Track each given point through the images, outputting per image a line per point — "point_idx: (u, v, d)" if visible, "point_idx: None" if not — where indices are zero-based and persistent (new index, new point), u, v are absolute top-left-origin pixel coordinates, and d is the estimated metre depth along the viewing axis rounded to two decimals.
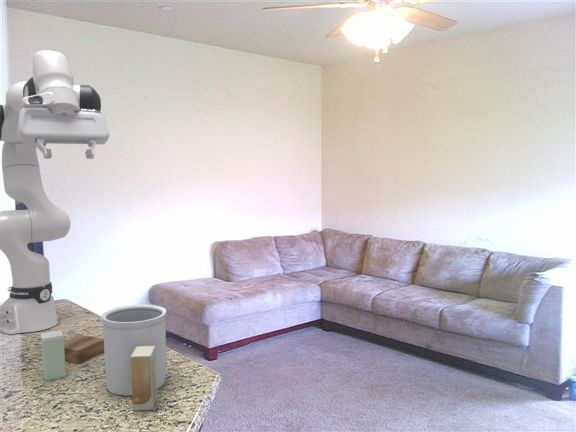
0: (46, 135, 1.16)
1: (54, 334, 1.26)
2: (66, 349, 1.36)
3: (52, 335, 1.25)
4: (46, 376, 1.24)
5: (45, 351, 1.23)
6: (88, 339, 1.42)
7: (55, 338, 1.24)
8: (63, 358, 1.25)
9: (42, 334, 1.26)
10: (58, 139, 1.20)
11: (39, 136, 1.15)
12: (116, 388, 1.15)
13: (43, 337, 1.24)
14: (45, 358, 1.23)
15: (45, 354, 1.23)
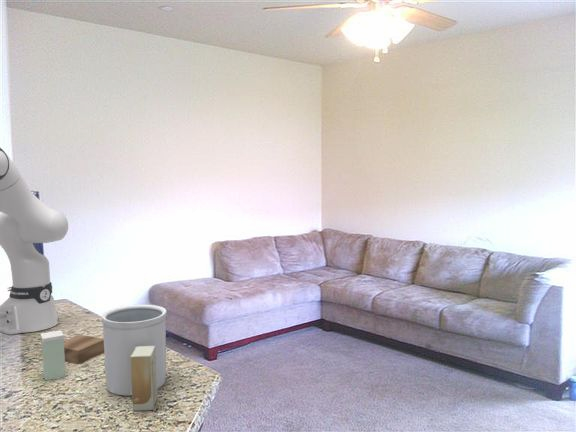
0: None
1: (54, 334, 1.26)
2: (66, 349, 1.36)
3: (52, 335, 1.25)
4: (46, 376, 1.24)
5: (45, 351, 1.23)
6: (88, 339, 1.42)
7: (55, 338, 1.24)
8: (63, 358, 1.25)
9: (42, 334, 1.26)
10: None
11: None
12: (116, 388, 1.15)
13: (43, 337, 1.24)
14: (45, 358, 1.23)
15: (45, 354, 1.23)
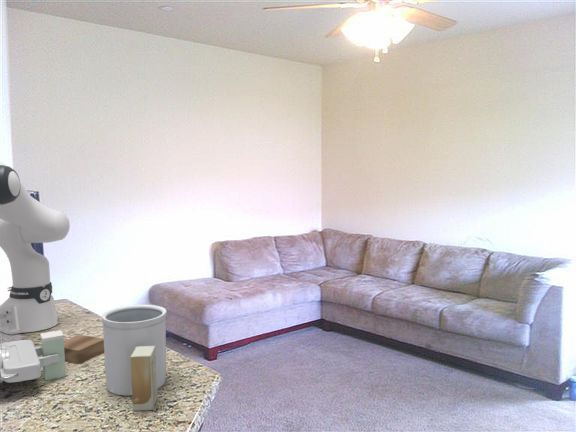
0: None
1: (54, 334, 1.26)
2: (66, 349, 1.36)
3: (52, 335, 1.25)
4: (46, 376, 1.24)
5: (45, 351, 1.23)
6: (88, 339, 1.42)
7: (55, 338, 1.24)
8: (63, 358, 1.25)
9: (42, 334, 1.26)
10: None
11: None
12: (116, 388, 1.15)
13: (43, 337, 1.24)
14: None
15: (45, 354, 1.23)
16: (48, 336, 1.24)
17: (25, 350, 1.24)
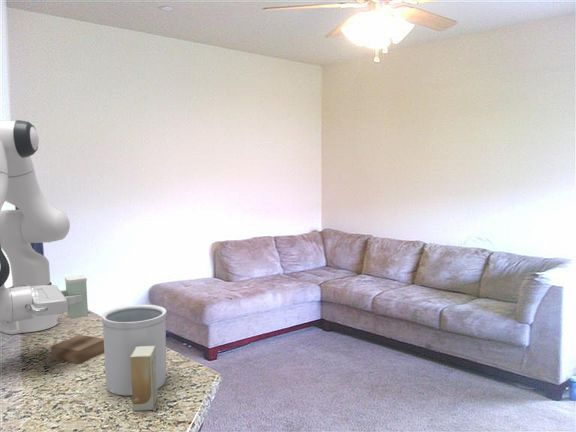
0: None
1: (77, 277, 1.39)
2: (66, 349, 1.36)
3: (76, 278, 1.38)
4: (71, 315, 1.37)
5: (70, 292, 1.36)
6: (88, 339, 1.42)
7: (79, 280, 1.37)
8: (86, 299, 1.38)
9: (66, 277, 1.39)
10: None
11: None
12: (116, 388, 1.15)
13: (68, 279, 1.36)
14: None
15: (70, 294, 1.36)
16: (72, 279, 1.37)
17: (51, 291, 1.37)
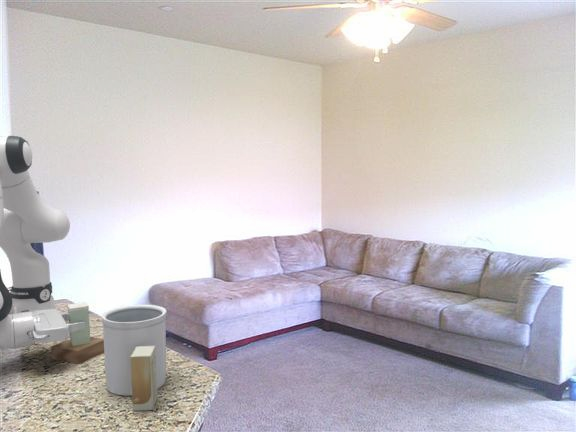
0: None
1: (80, 305, 1.39)
2: (66, 349, 1.36)
3: (78, 306, 1.38)
4: (73, 342, 1.37)
5: (72, 320, 1.37)
6: None
7: (81, 308, 1.38)
8: (88, 326, 1.39)
9: (69, 305, 1.39)
10: None
11: None
12: (116, 388, 1.15)
13: (70, 307, 1.37)
14: None
15: (72, 322, 1.37)
16: (74, 306, 1.38)
17: (53, 316, 1.37)
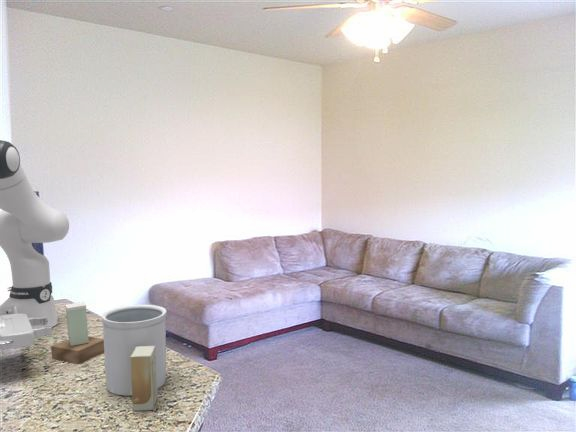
0: None
1: (77, 304, 1.39)
2: (66, 349, 1.36)
3: (75, 305, 1.39)
4: (71, 342, 1.37)
5: (70, 319, 1.37)
6: None
7: (78, 308, 1.38)
8: (86, 326, 1.39)
9: (67, 305, 1.40)
10: None
11: None
12: (116, 388, 1.15)
13: (67, 307, 1.37)
14: (70, 326, 1.37)
15: (70, 322, 1.37)
16: (72, 306, 1.38)
17: (19, 321, 1.33)
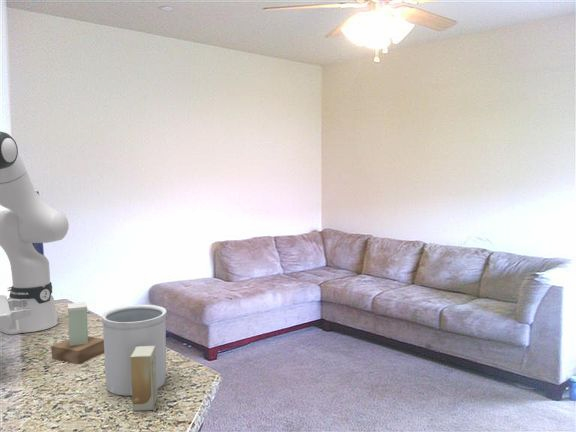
0: None
1: (79, 305, 1.39)
2: (66, 349, 1.36)
3: (77, 306, 1.38)
4: (70, 342, 1.37)
5: (70, 320, 1.37)
6: (88, 340, 1.42)
7: (79, 308, 1.37)
8: (86, 327, 1.39)
9: (69, 304, 1.39)
10: None
11: None
12: (116, 388, 1.15)
13: (69, 307, 1.37)
14: (70, 326, 1.37)
15: (70, 322, 1.37)
16: (73, 306, 1.38)
17: None
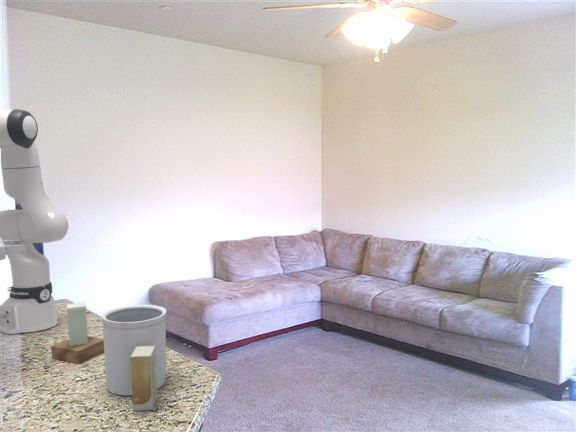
0: None
1: (78, 305, 1.39)
2: (66, 349, 1.35)
3: (76, 306, 1.39)
4: (70, 342, 1.37)
5: (69, 319, 1.37)
6: (88, 340, 1.42)
7: (78, 308, 1.37)
8: (85, 327, 1.39)
9: (68, 304, 1.40)
10: None
11: None
12: (116, 388, 1.15)
13: (68, 307, 1.37)
14: (69, 326, 1.37)
15: (69, 322, 1.37)
16: (72, 306, 1.38)
17: None
